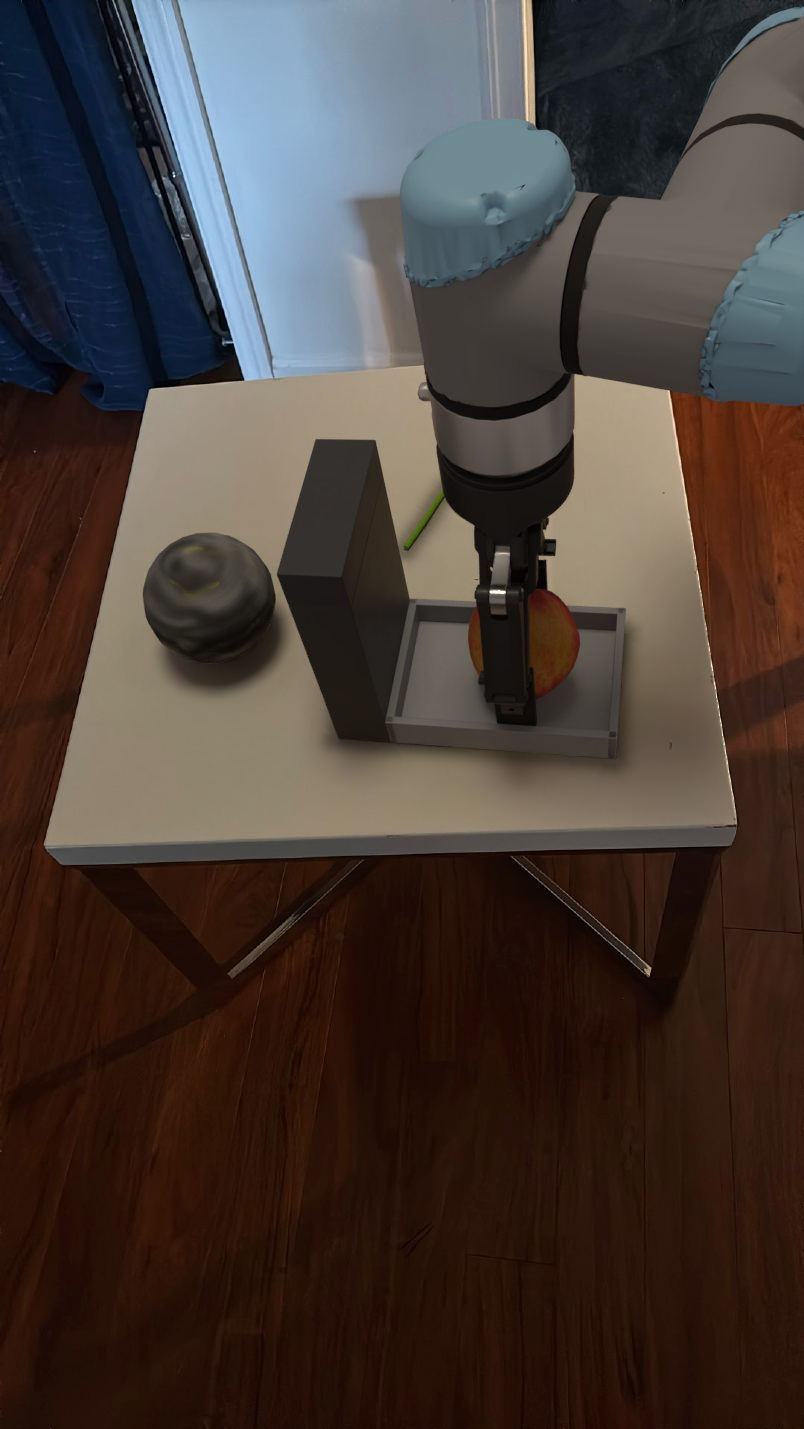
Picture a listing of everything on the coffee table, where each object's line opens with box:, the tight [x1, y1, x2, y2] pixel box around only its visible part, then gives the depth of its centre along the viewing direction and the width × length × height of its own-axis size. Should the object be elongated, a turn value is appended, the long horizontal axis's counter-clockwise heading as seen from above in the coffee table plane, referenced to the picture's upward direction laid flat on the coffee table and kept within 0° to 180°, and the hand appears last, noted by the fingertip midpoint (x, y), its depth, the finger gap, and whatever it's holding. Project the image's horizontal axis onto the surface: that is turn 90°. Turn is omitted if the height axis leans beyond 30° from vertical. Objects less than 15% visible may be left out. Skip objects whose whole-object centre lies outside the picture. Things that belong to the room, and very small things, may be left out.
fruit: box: [468, 589, 580, 699], centre depth 72 cm, size 8×8×8 cm
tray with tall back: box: [276, 438, 627, 760], centre depth 70 cm, size 20×11×19 cm, turn 80°
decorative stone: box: [142, 532, 277, 665], centre depth 79 cm, size 10×10×10 cm
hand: (523, 670), depth 75 cm, fingers closed on fruit, 8 cm apart
